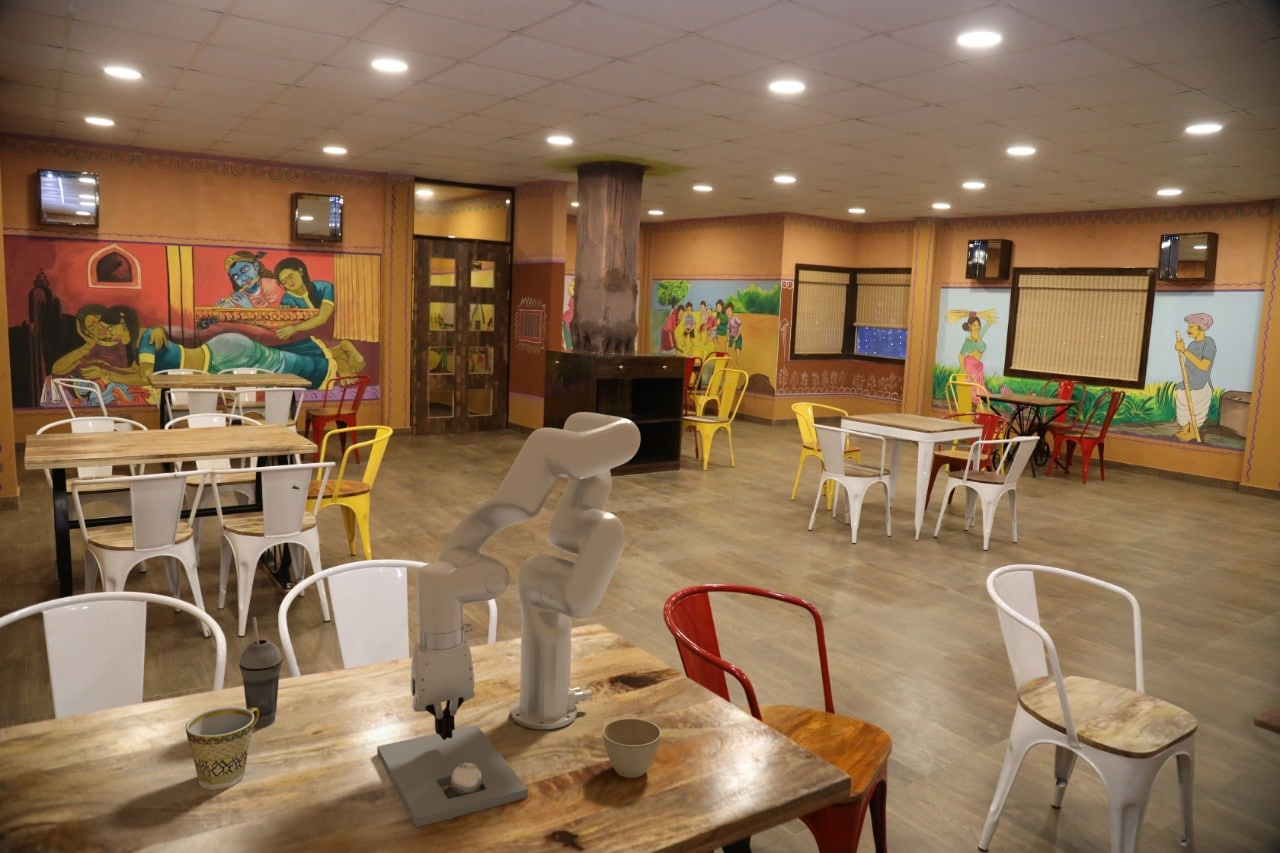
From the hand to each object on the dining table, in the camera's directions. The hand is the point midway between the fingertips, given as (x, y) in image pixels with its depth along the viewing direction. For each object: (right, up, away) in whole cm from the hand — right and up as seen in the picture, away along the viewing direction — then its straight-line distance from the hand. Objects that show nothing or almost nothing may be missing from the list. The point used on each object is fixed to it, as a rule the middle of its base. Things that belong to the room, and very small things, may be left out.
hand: (445, 735), depth 150 cm
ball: (+6, -3, -11) cm, 13 cm away
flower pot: (+32, -6, -2) cm, 33 cm away
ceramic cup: (-34, -4, -8) cm, 35 cm away
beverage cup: (-36, -1, +10) cm, 38 cm away
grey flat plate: (+2, -5, -5) cm, 8 cm away
